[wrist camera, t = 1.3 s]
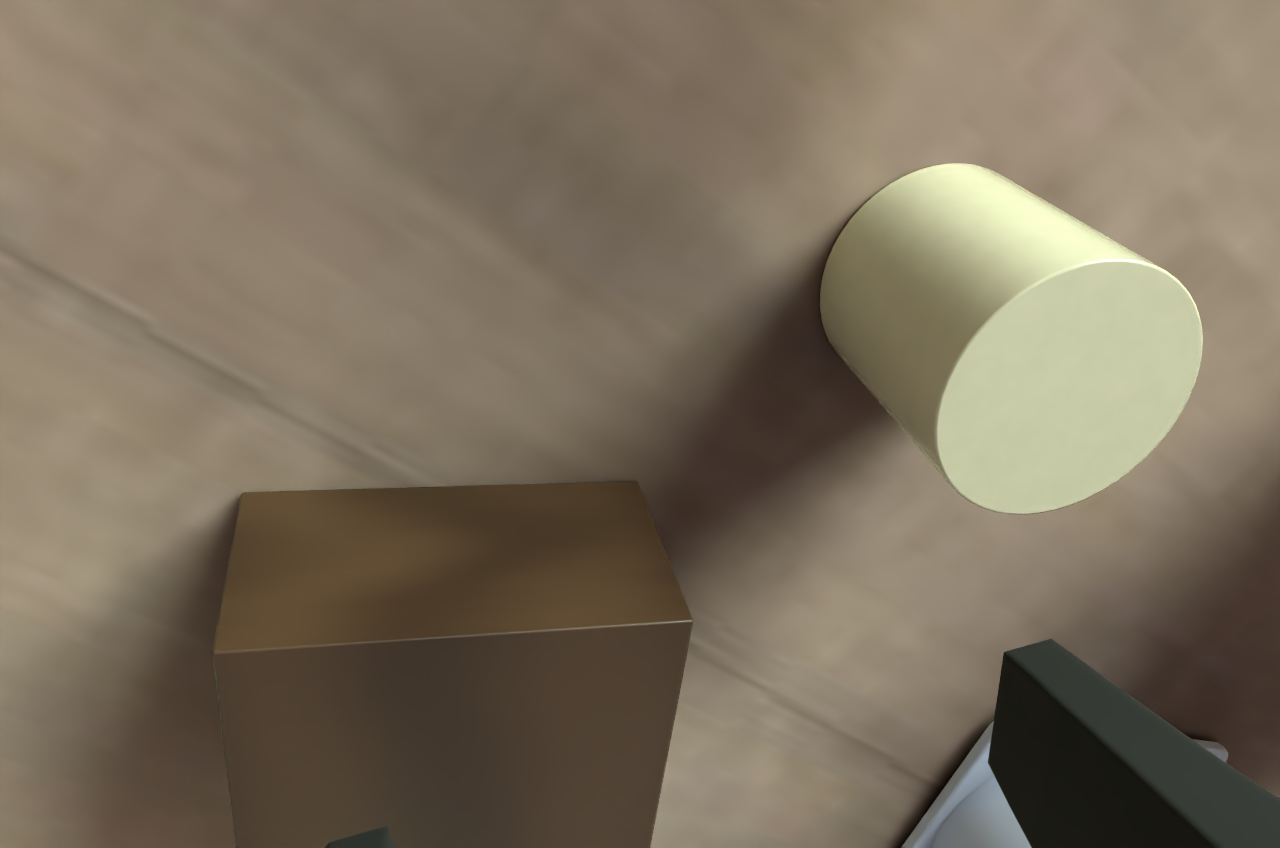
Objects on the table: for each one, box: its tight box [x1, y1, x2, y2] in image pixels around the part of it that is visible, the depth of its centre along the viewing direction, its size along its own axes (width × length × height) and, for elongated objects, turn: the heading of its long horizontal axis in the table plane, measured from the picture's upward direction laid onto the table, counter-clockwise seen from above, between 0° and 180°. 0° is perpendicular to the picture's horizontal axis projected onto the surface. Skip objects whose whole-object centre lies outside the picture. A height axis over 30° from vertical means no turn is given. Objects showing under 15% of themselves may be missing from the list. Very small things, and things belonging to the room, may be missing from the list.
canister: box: [820, 164, 1203, 514], centre depth 19 cm, size 5×5×5 cm
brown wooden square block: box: [212, 481, 693, 848], centre depth 21 cm, size 8×8×4 cm
